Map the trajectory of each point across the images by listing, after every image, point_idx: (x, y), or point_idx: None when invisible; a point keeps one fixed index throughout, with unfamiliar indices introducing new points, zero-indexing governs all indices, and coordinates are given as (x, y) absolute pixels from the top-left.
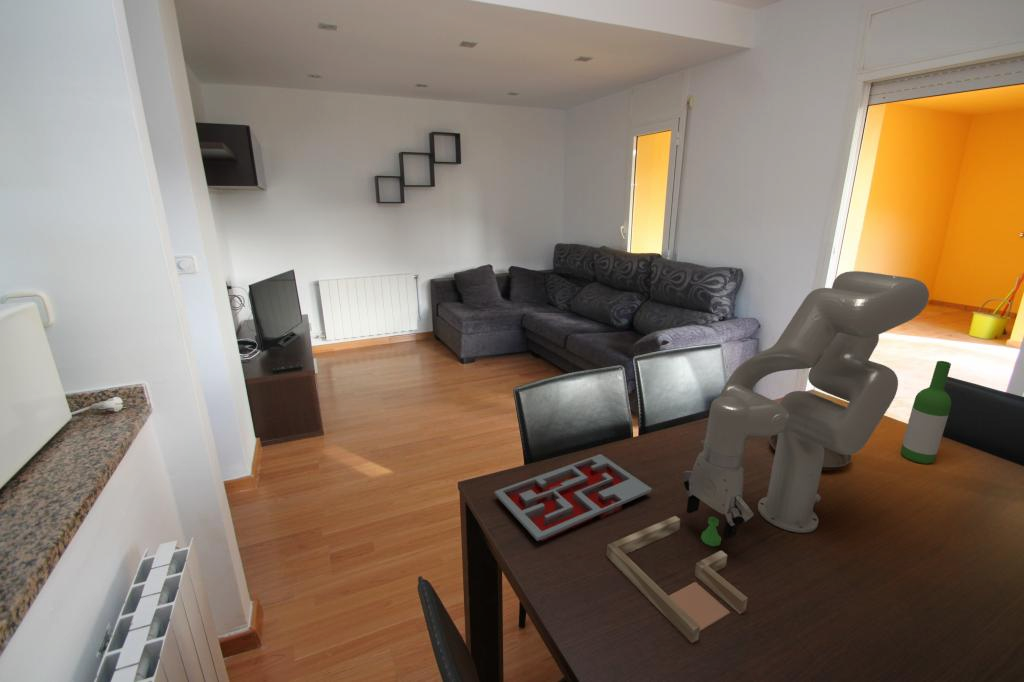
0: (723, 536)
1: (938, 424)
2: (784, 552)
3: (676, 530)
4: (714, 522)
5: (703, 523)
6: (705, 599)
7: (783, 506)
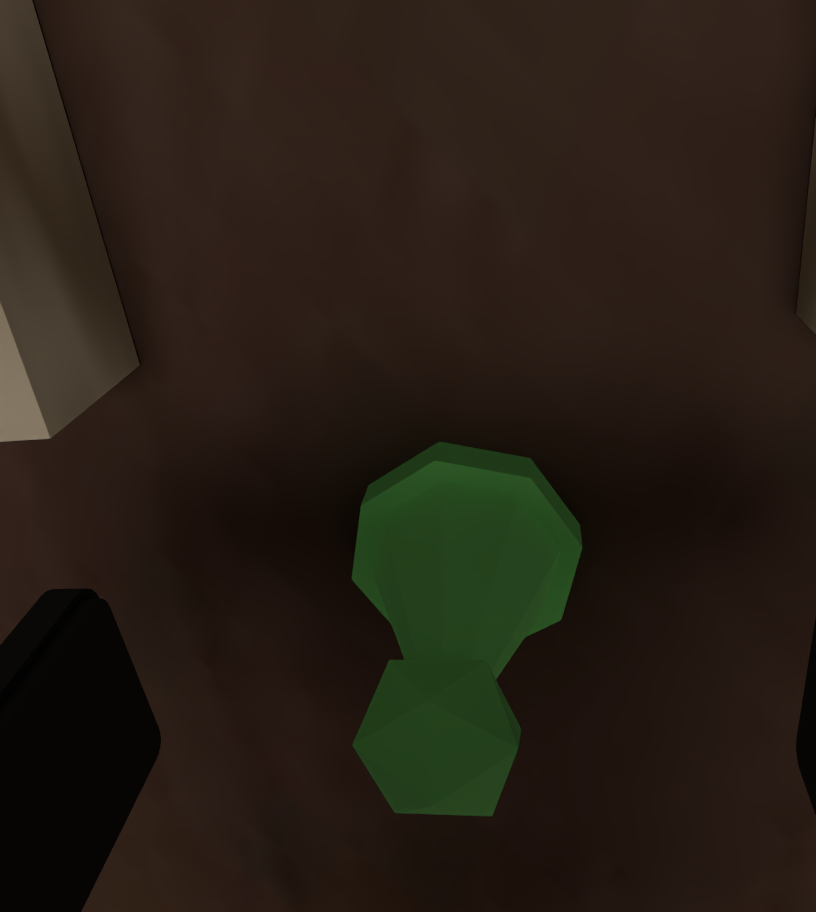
0: (56, 611)
1: None
2: (131, 882)
3: (809, 264)
4: (375, 731)
5: (709, 660)
6: None
7: None
